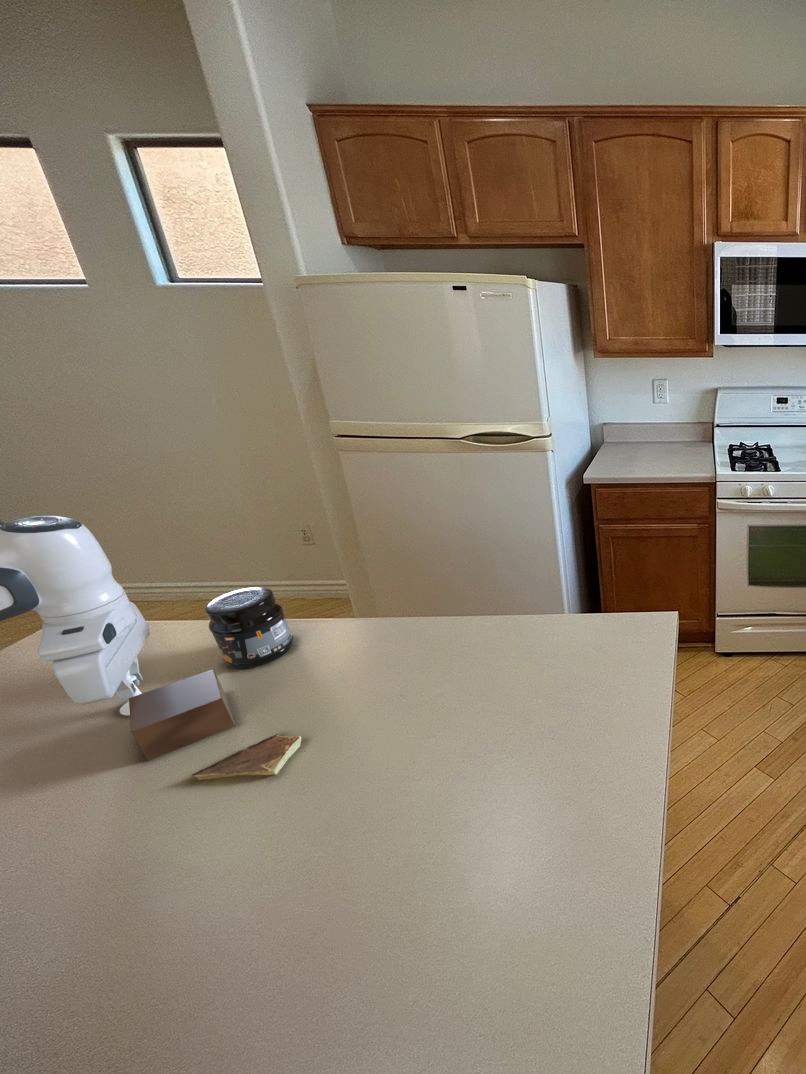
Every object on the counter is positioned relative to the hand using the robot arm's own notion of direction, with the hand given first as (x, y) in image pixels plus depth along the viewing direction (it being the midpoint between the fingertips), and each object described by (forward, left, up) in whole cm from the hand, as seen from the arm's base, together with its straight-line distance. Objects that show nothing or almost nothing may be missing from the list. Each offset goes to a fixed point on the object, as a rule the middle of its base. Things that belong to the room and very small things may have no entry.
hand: (131, 690), depth 89 cm
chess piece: (0, 0, -4) cm, 4 cm away
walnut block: (+8, -10, -4) cm, 13 cm away
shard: (+18, -25, -4) cm, 31 cm away
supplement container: (+15, +8, -4) cm, 17 cm away
